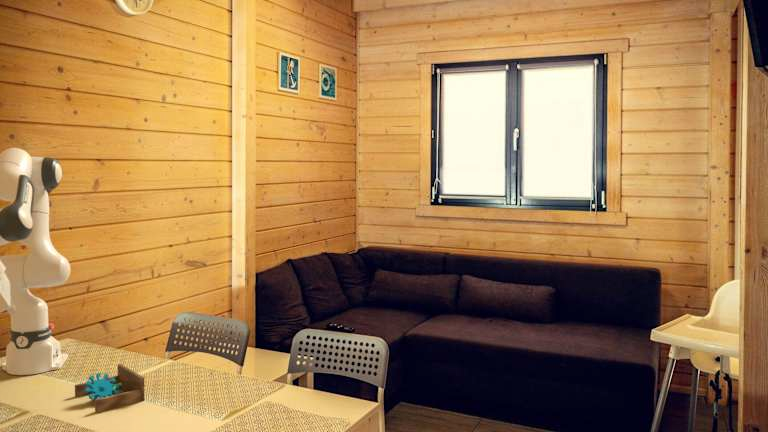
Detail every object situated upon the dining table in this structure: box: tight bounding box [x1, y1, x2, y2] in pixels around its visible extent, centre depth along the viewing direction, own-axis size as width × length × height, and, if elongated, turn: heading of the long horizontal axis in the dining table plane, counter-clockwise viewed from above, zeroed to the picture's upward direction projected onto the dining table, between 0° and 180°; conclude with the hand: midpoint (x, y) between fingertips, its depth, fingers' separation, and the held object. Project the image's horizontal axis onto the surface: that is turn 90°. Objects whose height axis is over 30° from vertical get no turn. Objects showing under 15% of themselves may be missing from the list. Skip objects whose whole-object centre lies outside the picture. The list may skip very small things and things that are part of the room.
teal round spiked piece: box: [84, 372, 122, 400], centre depth 195 cm, size 11×6×10 cm
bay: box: [74, 363, 145, 413], centre depth 196 cm, size 14×17×7 cm
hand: (13, 312), depth 183 cm, fingers closed
